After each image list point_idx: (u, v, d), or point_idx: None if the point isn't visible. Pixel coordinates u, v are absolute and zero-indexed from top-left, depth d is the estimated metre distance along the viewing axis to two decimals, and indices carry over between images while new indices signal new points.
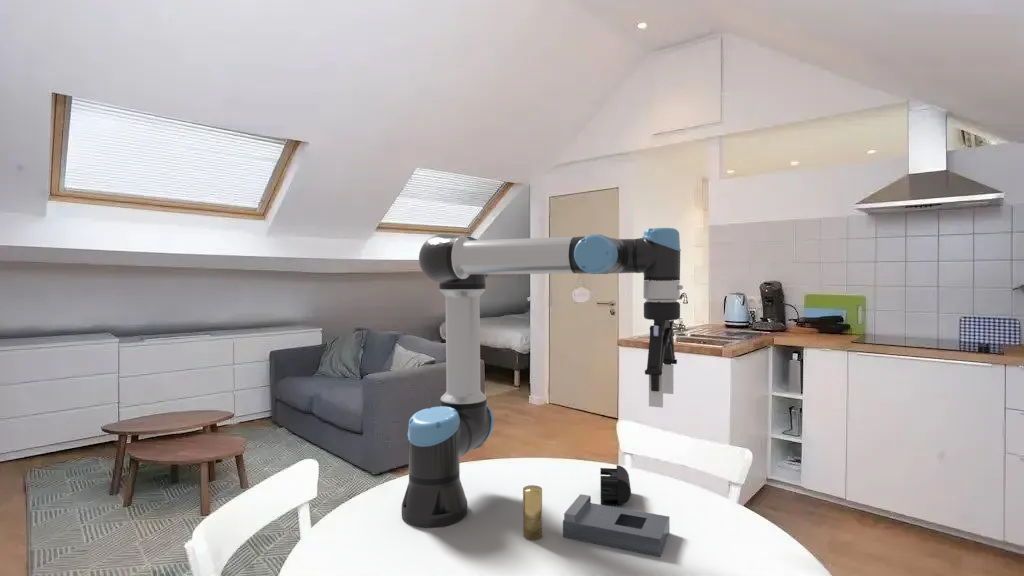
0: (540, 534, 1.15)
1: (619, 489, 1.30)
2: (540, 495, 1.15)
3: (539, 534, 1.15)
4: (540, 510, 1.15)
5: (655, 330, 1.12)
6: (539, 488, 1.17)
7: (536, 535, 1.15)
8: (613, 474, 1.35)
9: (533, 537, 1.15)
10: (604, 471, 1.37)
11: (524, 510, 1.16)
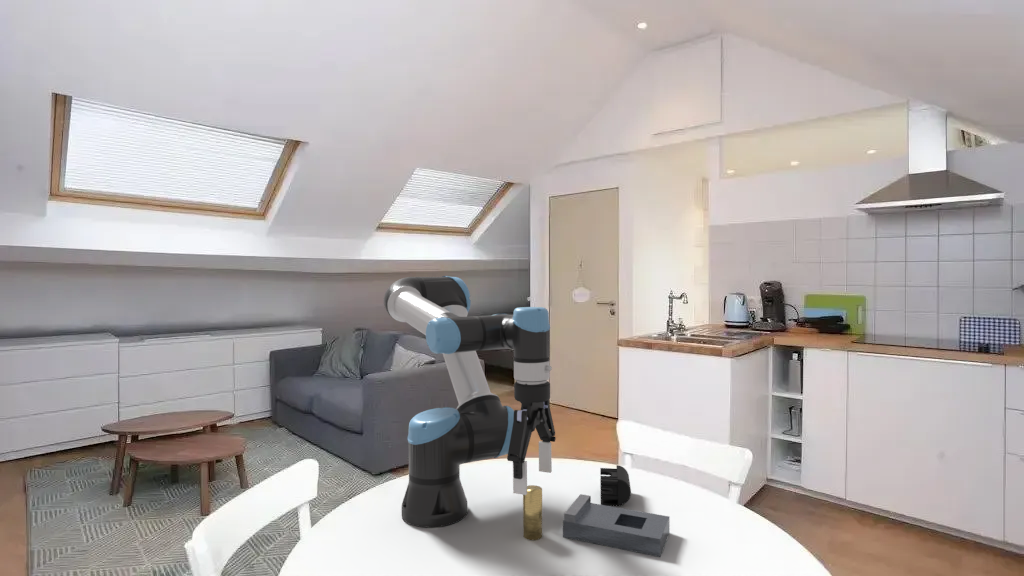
0: (540, 534, 1.15)
1: (619, 489, 1.30)
2: (540, 495, 1.15)
3: (539, 534, 1.15)
4: (540, 510, 1.15)
5: (519, 415, 1.10)
6: (539, 488, 1.17)
7: (536, 535, 1.15)
8: (613, 474, 1.35)
9: (533, 537, 1.15)
10: (604, 471, 1.37)
11: (524, 510, 1.16)
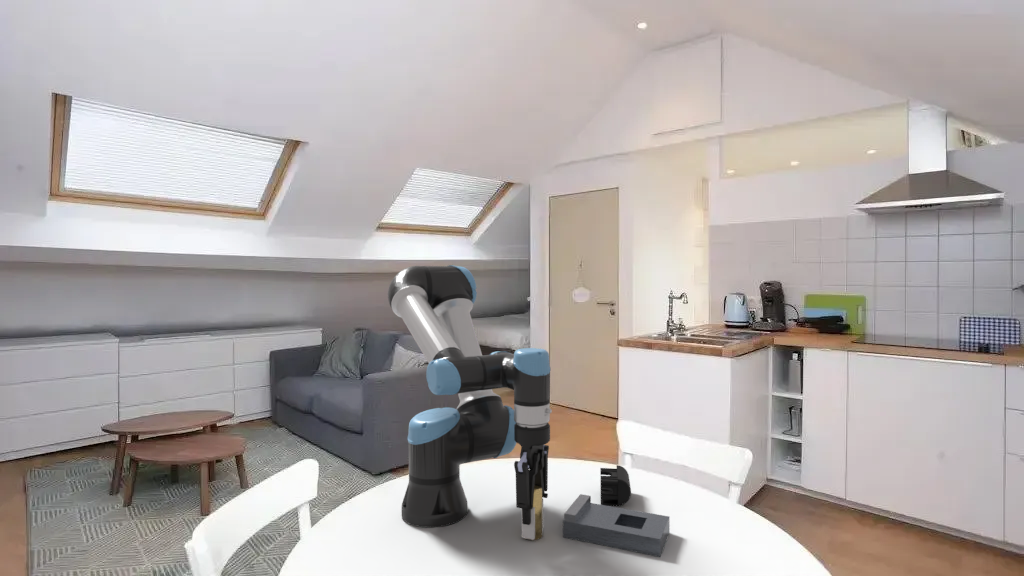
0: (540, 534, 1.15)
1: (619, 489, 1.30)
2: (540, 495, 1.15)
3: (539, 534, 1.15)
4: (540, 510, 1.15)
5: (519, 467, 1.10)
6: (539, 487, 1.17)
7: (536, 534, 1.15)
8: (613, 474, 1.35)
9: None
10: (604, 471, 1.37)
11: None
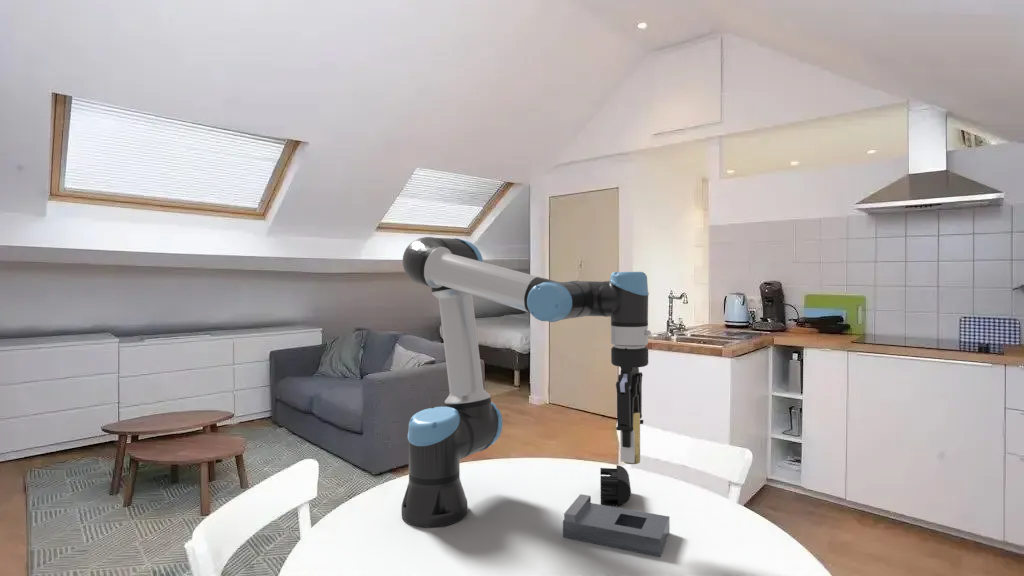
0: (639, 458, 1.14)
1: (619, 489, 1.30)
2: (639, 418, 1.13)
3: (638, 458, 1.13)
4: (639, 434, 1.14)
5: (622, 387, 1.09)
6: (636, 412, 1.15)
7: (635, 458, 1.13)
8: (613, 474, 1.35)
9: None
10: (604, 471, 1.37)
11: None
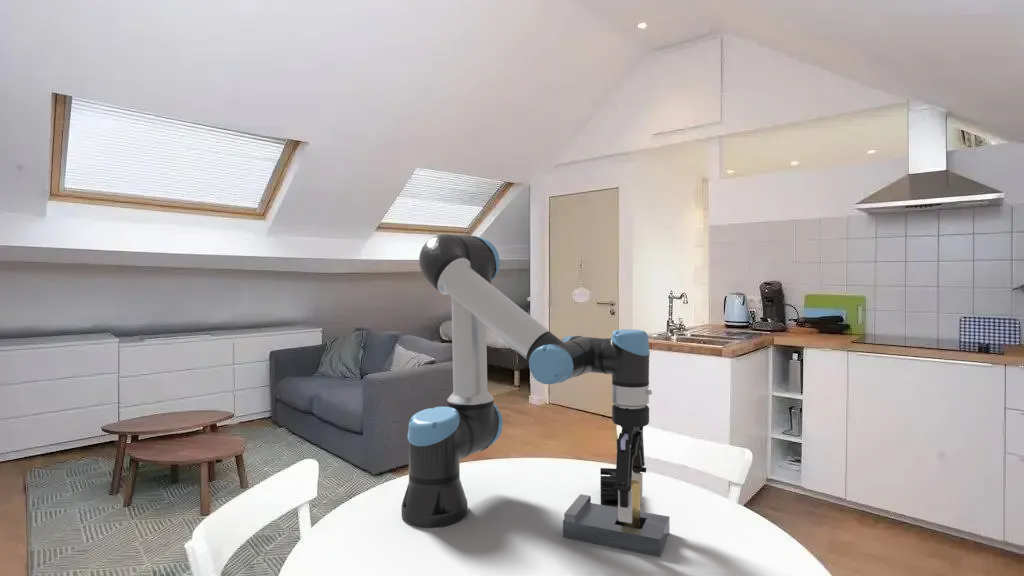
0: None
1: None
2: (639, 489, 1.14)
3: None
4: (639, 504, 1.14)
5: (622, 444, 1.09)
6: (636, 482, 1.16)
7: None
8: (613, 474, 1.35)
9: None
10: (604, 471, 1.37)
11: None
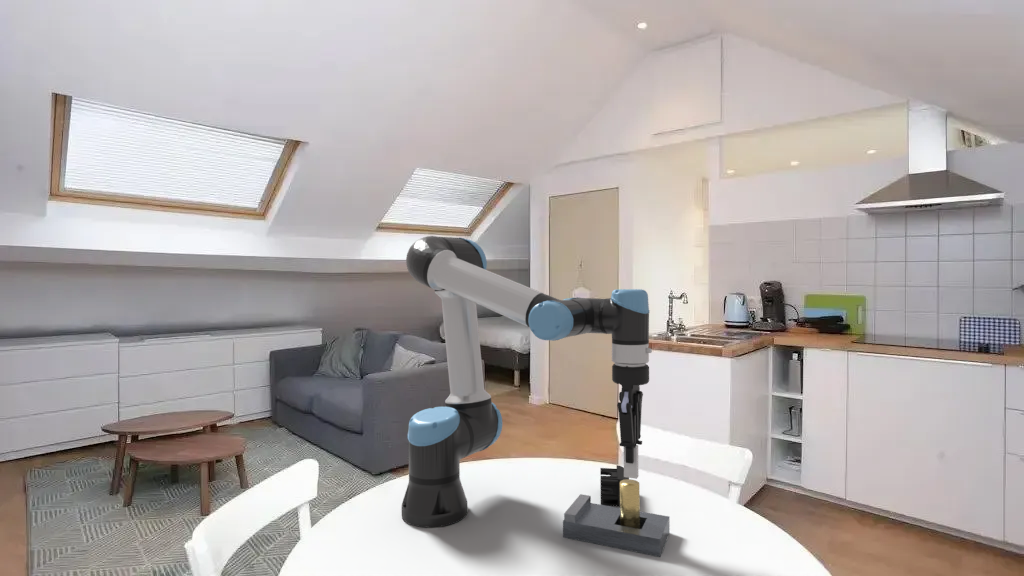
0: (639, 528, 1.14)
1: (619, 489, 1.30)
2: (638, 489, 1.14)
3: (638, 528, 1.14)
4: (638, 504, 1.14)
5: (623, 409, 1.09)
6: (635, 481, 1.16)
7: None
8: (613, 474, 1.35)
9: None
10: (604, 471, 1.37)
11: (622, 504, 1.14)
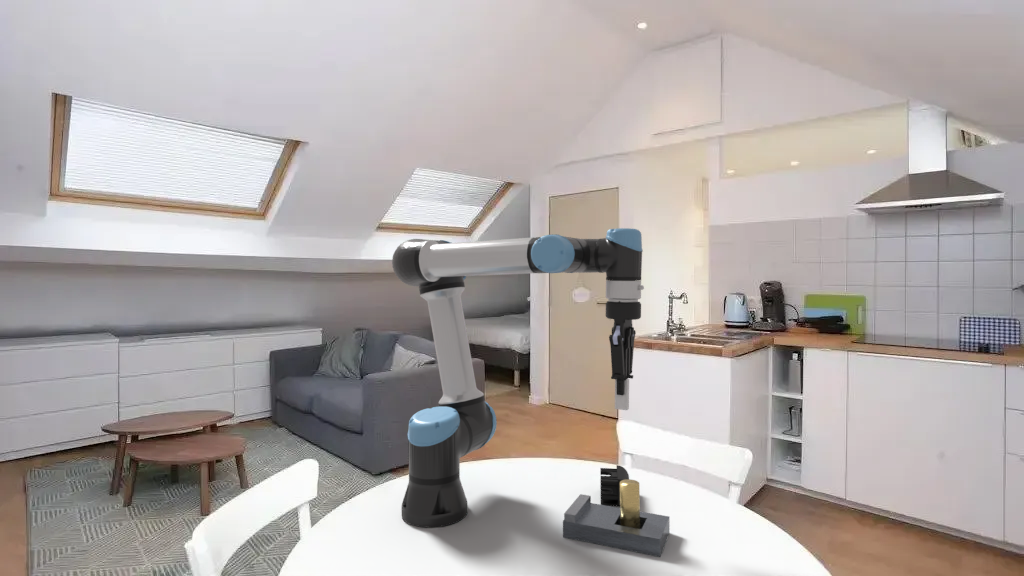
0: (639, 528, 1.14)
1: (619, 489, 1.30)
2: (638, 489, 1.14)
3: (638, 528, 1.14)
4: (638, 504, 1.14)
5: (615, 340, 1.14)
6: (635, 482, 1.16)
7: None
8: (613, 474, 1.35)
9: None
10: (604, 471, 1.37)
11: (622, 505, 1.14)
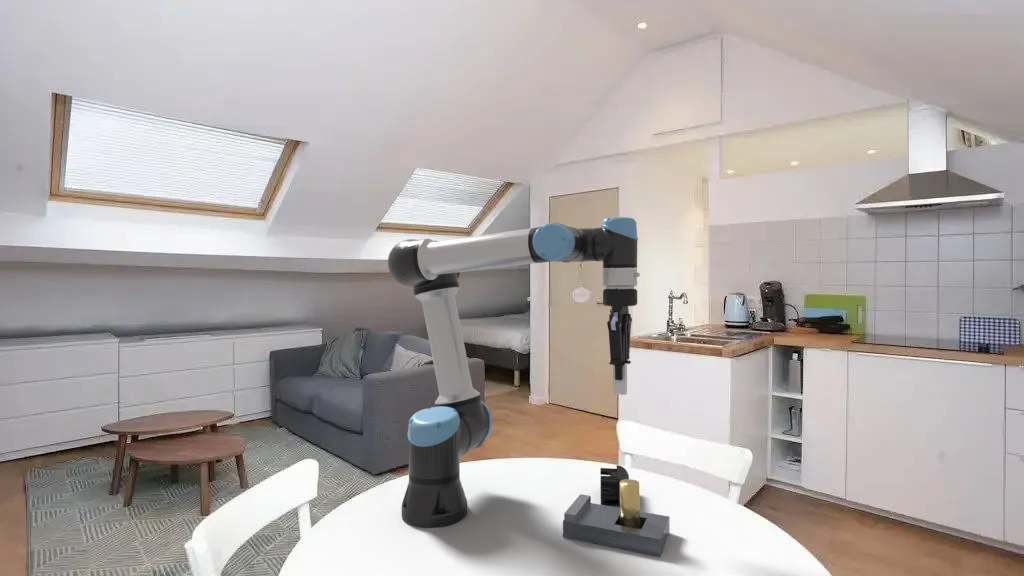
0: (639, 528, 1.14)
1: (619, 489, 1.30)
2: (638, 488, 1.14)
3: (638, 528, 1.14)
4: (638, 504, 1.14)
5: (613, 326, 1.17)
6: (635, 481, 1.16)
7: None
8: (613, 474, 1.35)
9: None
10: (604, 471, 1.37)
11: (622, 504, 1.14)
